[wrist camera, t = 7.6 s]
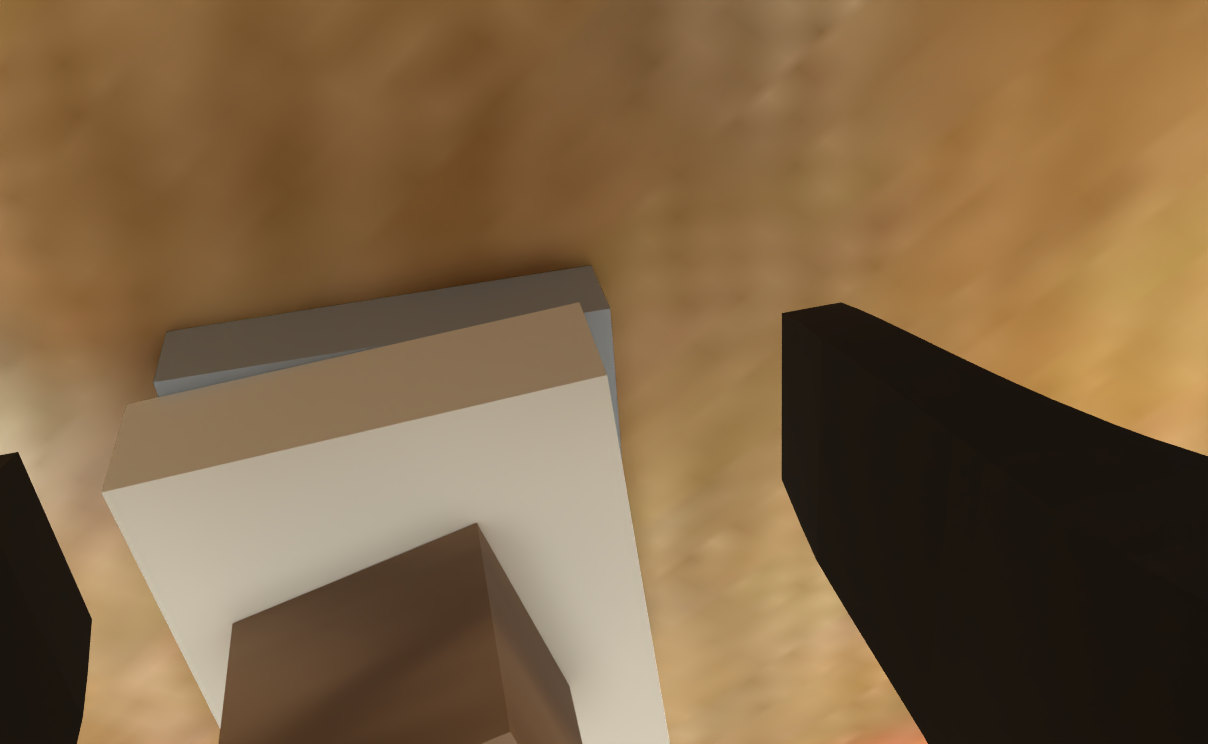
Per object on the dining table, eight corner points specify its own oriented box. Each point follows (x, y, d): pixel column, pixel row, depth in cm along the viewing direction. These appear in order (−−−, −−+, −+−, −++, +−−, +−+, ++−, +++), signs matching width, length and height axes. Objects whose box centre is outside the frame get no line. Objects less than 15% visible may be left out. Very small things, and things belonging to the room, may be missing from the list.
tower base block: (584, 249, 22) (610, 308, 20) (616, 615, 28) (639, 691, 26) (170, 313, 21) (153, 381, 19) (287, 680, 27) (283, 765, 25)
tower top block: (579, 302, 20) (607, 375, 18) (646, 681, 26) (674, 771, 23) (127, 403, 19) (100, 492, 17) (295, 771, 25) (292, 872, 23)
